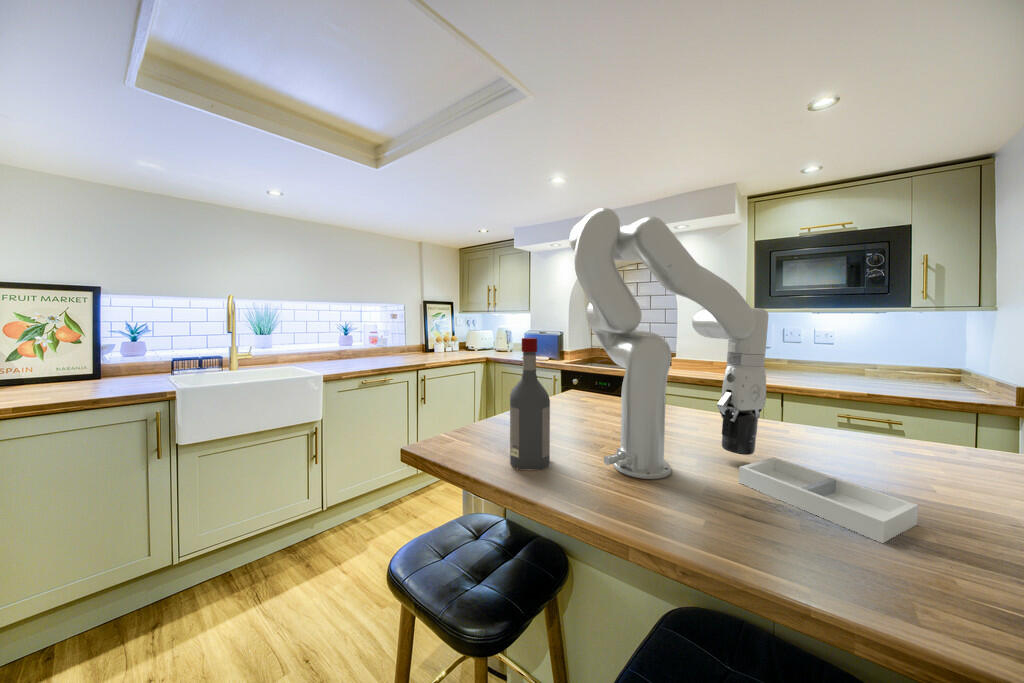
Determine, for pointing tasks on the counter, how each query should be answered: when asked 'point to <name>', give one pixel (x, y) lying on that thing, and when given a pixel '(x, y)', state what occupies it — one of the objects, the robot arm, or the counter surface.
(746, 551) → the counter surface
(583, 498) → the counter surface
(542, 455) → the liquor
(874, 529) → the caddy
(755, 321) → the robot arm
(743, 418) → the supplement bottle
